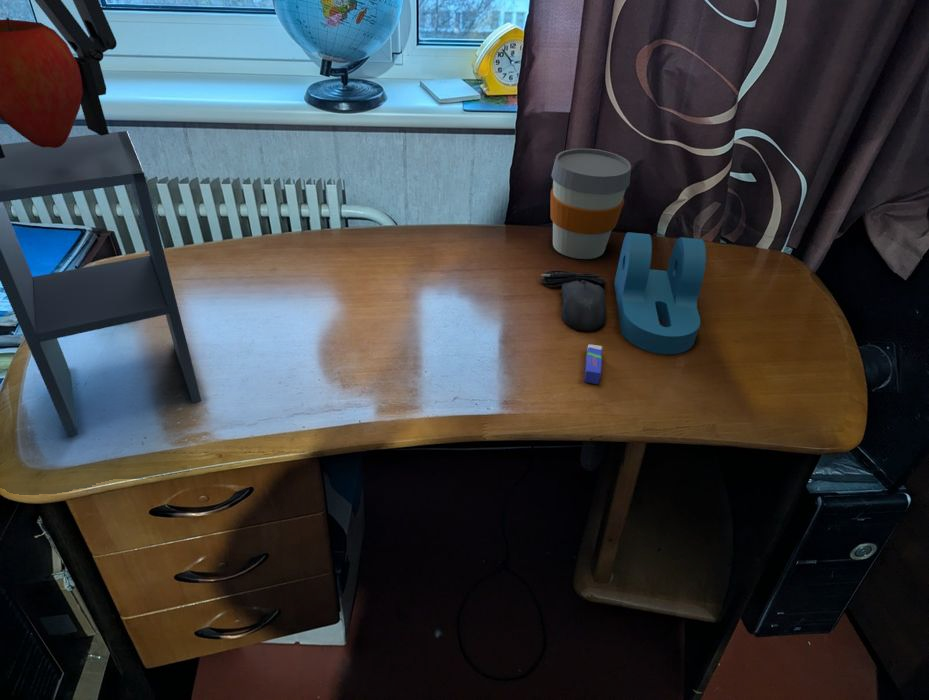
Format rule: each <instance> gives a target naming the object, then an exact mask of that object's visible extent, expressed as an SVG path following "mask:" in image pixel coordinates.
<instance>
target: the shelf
mask: <svg viewBox="0 0 929 700" xmlns="http://www.w3.org/2000/svg"><path fill="white" fill-rule="evenodd" d="M0 145H1V147H2V150H3V153H4V155H5V158H1V159H0V284H1V286H2V288H3V290H4V293H5V295H6V298H7V300H8V302H9V304H10V306H11V309H12V311H13V314H14V316H15V319H16V320H17V323H18V325H19V327H20V330H21V333H22V335H23V337H24V339H25V341H26V344H27V345H28V349H29V351H30V353H31V355H32V358H33V360H34V363H35V365H36V367H37V369H38V371H39V373H40V376H41V378H42V381H43V383H44V385H45V387H46V390H47V392H48V394H49V397H50V399H51V402H52V403H53V406H54V408H55V411H56V413H57V415H58V418H59V420H60V422H61V425H62V427H63V430H64V431H65V434H66V436H67V437H68V438H70V437H73V436H77V435H78V434H79V432H78V424H77V415H76V407H75V399H74V391H73V390H74V389H73V383H72V382H73V381H72V374H71V373H72V372H71V370H70V367H69V365H68V363H67V360H66V358H65V355H64V352H63V349H62V347H61V345H60V342H59V339H60V338H65V337H69V336H74V335H75V336H76V335H80V334H83V333H88V332H92V331H98V330H102V329H107V328H111V327H116V326H120V325H125V324H129V323H135V322H138V321H143V320H148V319H151V318H157V317H163V316H165V317H166V322H167V325H168V329H169V333H170V336H171V337H170V338H171V340H172V343H173V347H174V351H175V354H176V357H177V360H178V362H179V366H180V369H181V372H182V375H183V377H184V381H185V384H186V387H187V391H188V393H189V396H190V400H191V401H192V404H193V403H197V402H201V401H202V397H201V393H200V389H199V385H198V381H197V377H196V374H195V370H194V365H193V362H192V357H191V353H190V350H189V345H188V341H187V337H186V334H185V330H184V326H183V321H182V318H181V314H180V311H179V306H178V302H177V298H176V294H175V290H174V287H173V282H172V278H171V274H170V271H169V266H168V262H167V258H166V254H165V250H164V246H163V243H162V238H161V235H160V231H159V227H158V223H157V219H156V215H155V211H154V206H153V202H152V199H151V195H150V192H149V191H150V190H149V188H148V183H147V179H146V176H145V175H146V174H145V172H144V169H143V167H142V164H141V161H140V159H139V156H138V154H137V152H136V149H135V146H134V144H133V142H132V139H131V137H130V135H129V132H128V130H123V131H113V132H109V134H107V135H102V136H101V135H99V134H97V133H96V134H95V133H94V134H86V135H77V136H68V138H67V141H66V142H65V143H64V144H63V145H62V146H60V147H57V148H52V147H40V146H38V145H35V144H33V143H32V142H30V141H23V142H12V143H3V144H0ZM128 185H130V186H131V190H132V194H133V197H134V202H135V206H136V209H137V213H138V217H139V220H140V224H141V228H142V232H143V236H144V239H145V243H146V247H147V250H148V254H149V255H144V256H140V257H134V258H129V259H123V260H117V261H112V262H107V263H106V262H105V263H101V264H96V265H89V266H84V267H79V268H73V269H68V270H61V271H57V272H56V271H55V272H52V273H45V274H40V275H35V276H33V274H32V272H31V269H30V266H29V264H28V262H27V259H26V256H25V254H24V252H23V249H22V246H21V244H20V241H19V238H18V237H17V233H16V231H15V228H14V227H13V223H12V221H11V218H10V216H9V214H8V211H7V208H6V206H5V204H4V202H5V203H6V202H11V201H19V200H26V199H33V198H39V197H41V198H42V197H48V196H54V195H61V194H71V193H75V192H84V191H91V190H98V189H106V188H112V187H120V186H128Z"/></svg>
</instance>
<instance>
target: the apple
mask: <svg viewBox="0 0 929 700" xmlns="http://www.w3.org/2000/svg"><path fill="white" fill-rule="evenodd" d="M74 57H75V55H74V54H73V52H72V50H71V49H70V47H69V44H68V42H67V41H66V40H65V39H64V38H63V37H62V36H61V35H60V34H59V33H58V32H57V31H56V29H53V28H51V27H50V26H47V25H45V24H44V23H42V22H40V21H39V22H37V21H29V20H18V19H10V18H9V17H5V19H0V120H1V121H3V122H4V123H5V124H7V125H8V126H9V127H10V128H12V129H13V130H14V131H16V133H18V134H19V135H20V136H21V137H23V138H24V139H26V141H27V140H28V142H32V143H33V144H35V145H38V146H40V147H52V148H57V147H60V146H62V145H63V144H64V143H65V142H66V141H67V138H68V137H70V134H71V132H72V129H73V127H74V124H75V122H76V119H77V116H78V114H79V111H80V109H81V98H82V93H83V90H82V79H81V74H80V70H79V65H78V64H77V62H76V60H75V58H74Z"/></svg>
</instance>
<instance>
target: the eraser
mask: <svg viewBox="0 0 929 700" xmlns="http://www.w3.org/2000/svg"><path fill="white" fill-rule="evenodd" d="M602 367H603V346H602V345H597V344H591V343H589V344H588V345H587V350H586V357H585V372H584V382H585V383H589V384H595V385H598V384H599V383H600V381H601V376H602Z"/></svg>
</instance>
